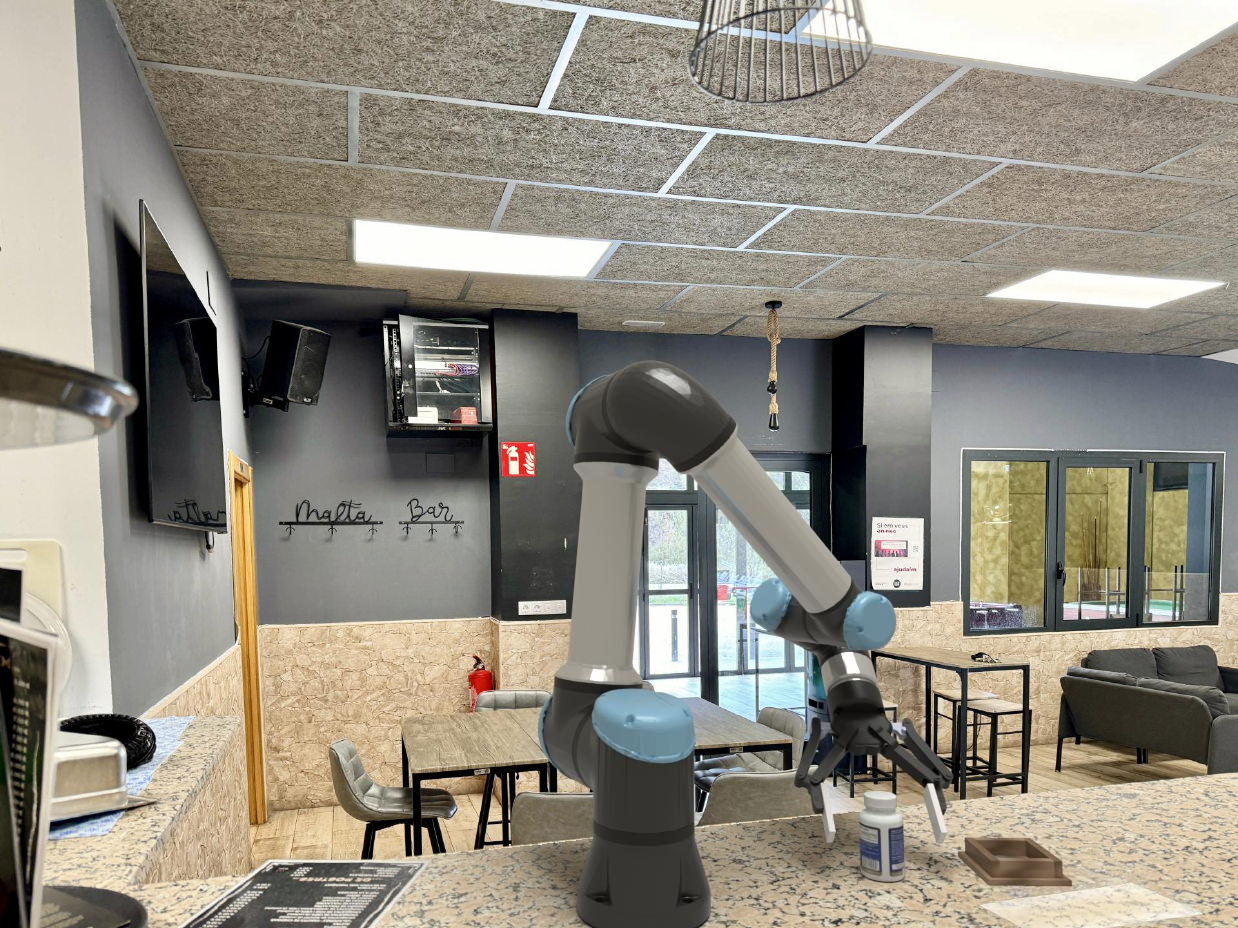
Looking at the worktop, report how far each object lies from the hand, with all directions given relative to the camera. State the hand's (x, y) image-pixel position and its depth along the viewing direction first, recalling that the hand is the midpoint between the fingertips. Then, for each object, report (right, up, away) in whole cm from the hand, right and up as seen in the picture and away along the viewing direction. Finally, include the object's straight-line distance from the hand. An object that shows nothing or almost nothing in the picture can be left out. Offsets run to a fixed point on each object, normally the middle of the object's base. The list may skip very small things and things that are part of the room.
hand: (886, 837), depth 105 cm
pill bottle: (0, -6, +2) cm, 6 cm away
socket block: (+17, -6, +3) cm, 18 cm away
